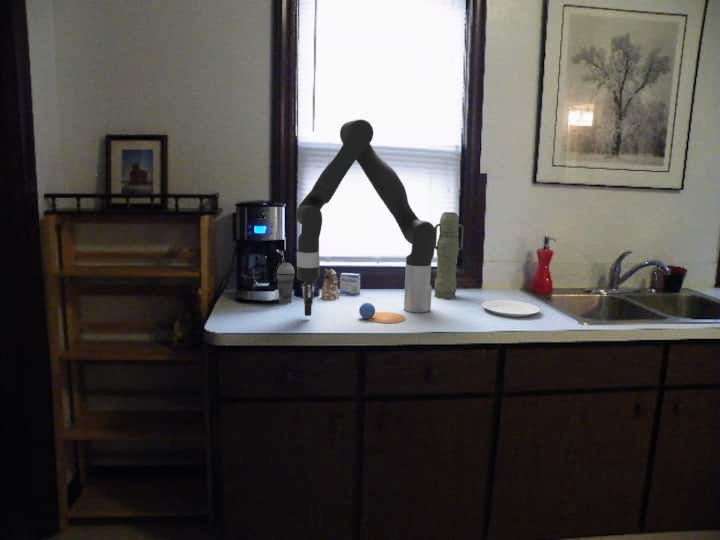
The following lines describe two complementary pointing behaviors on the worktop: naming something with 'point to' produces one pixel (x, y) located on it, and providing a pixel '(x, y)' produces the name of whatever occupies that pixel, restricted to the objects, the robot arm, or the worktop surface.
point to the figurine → (330, 286)
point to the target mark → (387, 318)
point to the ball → (367, 310)
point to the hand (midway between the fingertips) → (307, 315)
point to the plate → (511, 308)
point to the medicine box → (349, 284)
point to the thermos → (447, 255)
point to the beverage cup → (285, 282)
